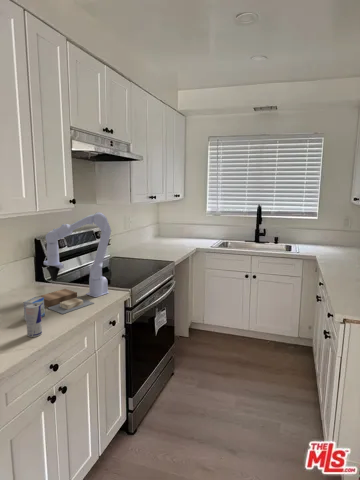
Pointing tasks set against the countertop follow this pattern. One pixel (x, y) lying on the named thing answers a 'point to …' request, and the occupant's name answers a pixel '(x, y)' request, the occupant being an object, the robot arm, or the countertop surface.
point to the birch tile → (71, 303)
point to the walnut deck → (58, 297)
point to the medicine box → (35, 300)
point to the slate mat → (63, 310)
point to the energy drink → (33, 320)
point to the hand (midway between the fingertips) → (54, 279)
